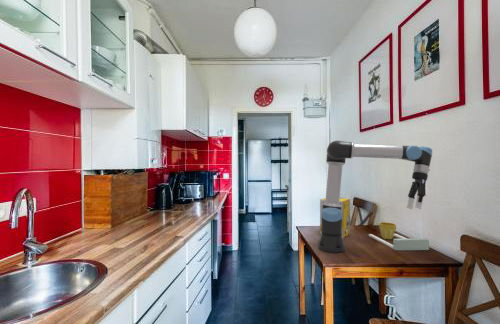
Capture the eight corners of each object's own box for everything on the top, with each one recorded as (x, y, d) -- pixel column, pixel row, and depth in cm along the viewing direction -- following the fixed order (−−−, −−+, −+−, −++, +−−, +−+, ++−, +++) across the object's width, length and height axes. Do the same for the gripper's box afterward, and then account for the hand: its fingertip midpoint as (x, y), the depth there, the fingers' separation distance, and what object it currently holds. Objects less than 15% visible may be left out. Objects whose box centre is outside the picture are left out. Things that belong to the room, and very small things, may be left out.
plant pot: (397, 237, 183) (397, 223, 183) (394, 241, 175) (394, 226, 175) (381, 235, 190) (381, 221, 190) (377, 238, 182) (377, 223, 182)
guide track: (368, 235, 188) (368, 227, 188) (396, 235, 189) (396, 226, 189) (396, 250, 156) (396, 240, 156) (428, 249, 158) (429, 239, 158)
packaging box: (349, 233, 194) (350, 199, 194) (343, 238, 181) (343, 201, 181) (327, 230, 203) (328, 197, 203) (319, 234, 190) (320, 199, 190)
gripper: (437, 171, 144) (429, 210, 141) (419, 177, 168) (413, 210, 165) (421, 168, 146) (414, 206, 143) (406, 174, 170) (399, 207, 167)
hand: (413, 208), depth 154 cm, fingers open, 13 cm apart
